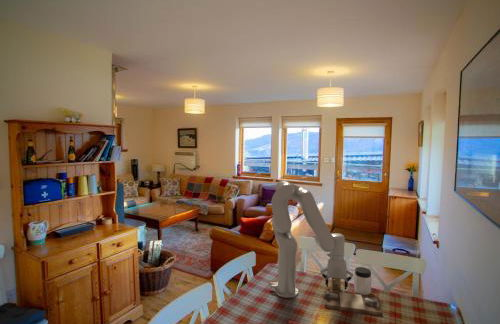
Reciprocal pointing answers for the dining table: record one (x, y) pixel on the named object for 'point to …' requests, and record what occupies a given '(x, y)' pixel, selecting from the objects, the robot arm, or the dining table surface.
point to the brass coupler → (336, 285)
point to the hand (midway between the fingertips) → (336, 287)
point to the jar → (362, 280)
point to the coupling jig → (352, 302)
